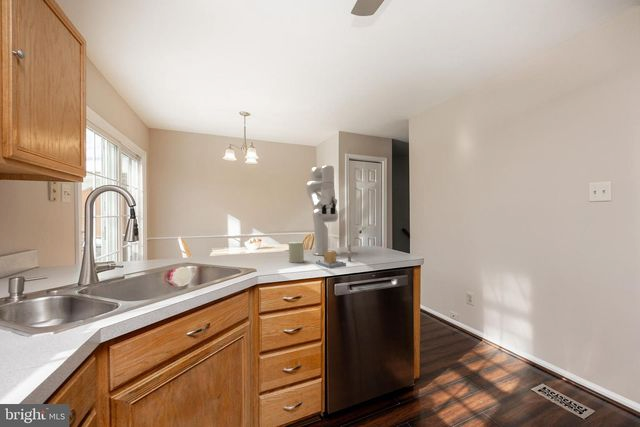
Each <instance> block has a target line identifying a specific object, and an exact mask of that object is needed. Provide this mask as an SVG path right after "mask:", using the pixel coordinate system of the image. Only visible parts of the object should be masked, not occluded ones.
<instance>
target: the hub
mask: <svg viewBox="0 0 640 427" xmlns="http://www.w3.org/2000/svg"><path fill="white" fill-rule="evenodd" d="M328 251H329V250H328ZM328 251H324V255H323V258H324V259H323V260H324V262H325V263H336V260H337V251H336V250H331V251H332V252H328Z"/></svg>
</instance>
